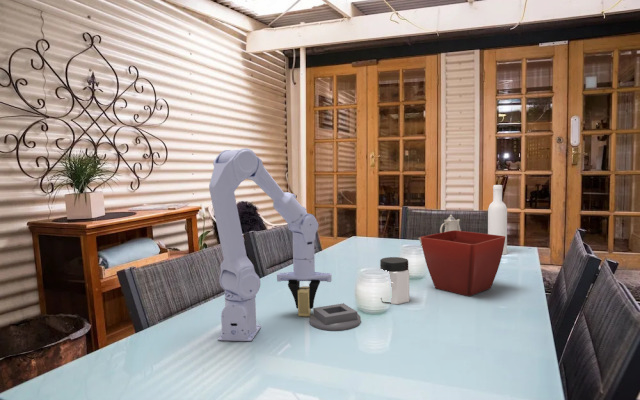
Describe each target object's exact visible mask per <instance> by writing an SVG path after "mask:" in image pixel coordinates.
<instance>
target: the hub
mask: <svg viewBox="0 0 640 400" xmlns="http://www.w3.org/2000/svg"><path fill="white" fill-rule="evenodd" d="M312 310H313V311H312V312H313V313H311V314H310V316H309V324H310V325H311V326H312V327H313V328H316V329H318V330H322V331H330V332H333V331H335V332H337V331H341V332H342V331H348V330H351V329H354V328H357V327H358V326H359V325H360V324H361V315H360V314H359V313H358V311H357V310H356V309H354V308H352V307H351V306H348V305H347V304H346V303H344V302H343V303H337V304H332V305H330V304H329V305H326V306H319V307H318V306H317V307H313V309H312Z"/></svg>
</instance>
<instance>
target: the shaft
mask: <svg viewBox="0 0 640 400" xmlns="http://www.w3.org/2000/svg"><path fill="white" fill-rule="evenodd" d="M297 312H298V313H297V315H298V317H310V316H311V315H312V309H310V289H309V285H308V286H306V285H303V286H300V288H299V289H298V309H297Z"/></svg>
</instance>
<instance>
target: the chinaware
mask: <svg viewBox="0 0 640 400" xmlns="http://www.w3.org/2000/svg"><path fill="white" fill-rule="evenodd" d="M460 220H461V219H460V218H457V219H456V218H455V217H453V215H452V214H450V215H449V216H448V217H447V218H446V219H444V220H443V221H444V223H442V224H441V225H440V228H439V233H442V232H447V231H453V230H457V231H462V229H461V226H460ZM443 227H444V231H443ZM417 239H418V240H419V242H420V243H419V244H420V247H421V246H422V243H421V237H417Z"/></svg>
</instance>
